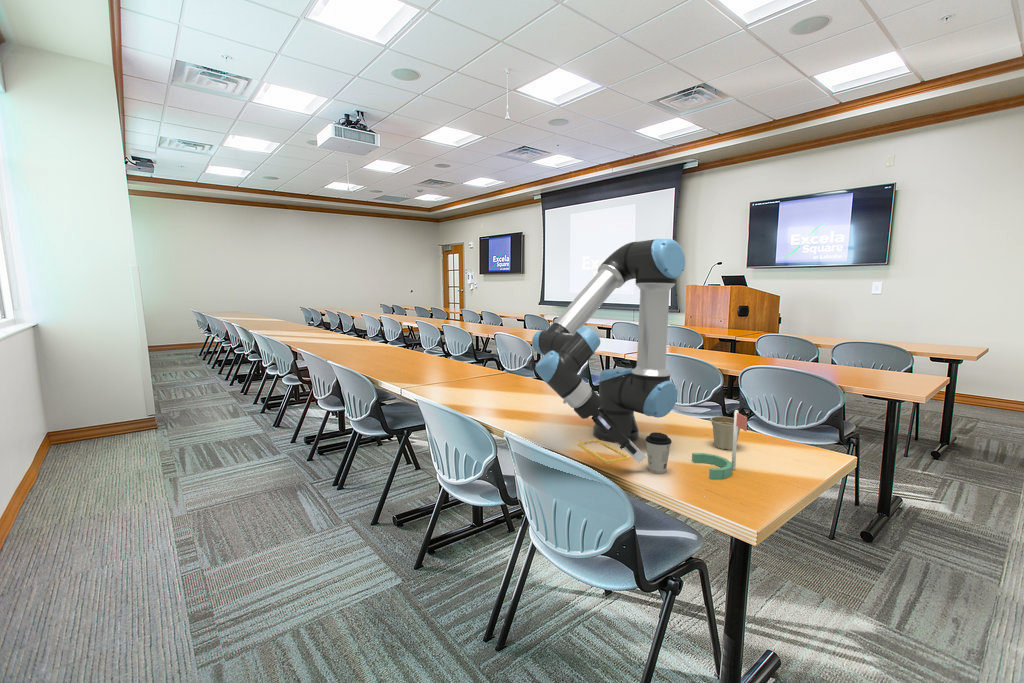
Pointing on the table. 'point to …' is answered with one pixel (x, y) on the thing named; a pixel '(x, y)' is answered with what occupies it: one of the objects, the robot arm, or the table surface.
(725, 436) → the flower pot
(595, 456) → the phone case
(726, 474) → the cup ring
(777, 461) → the table surface
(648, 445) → the coffee cup
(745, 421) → the flag
